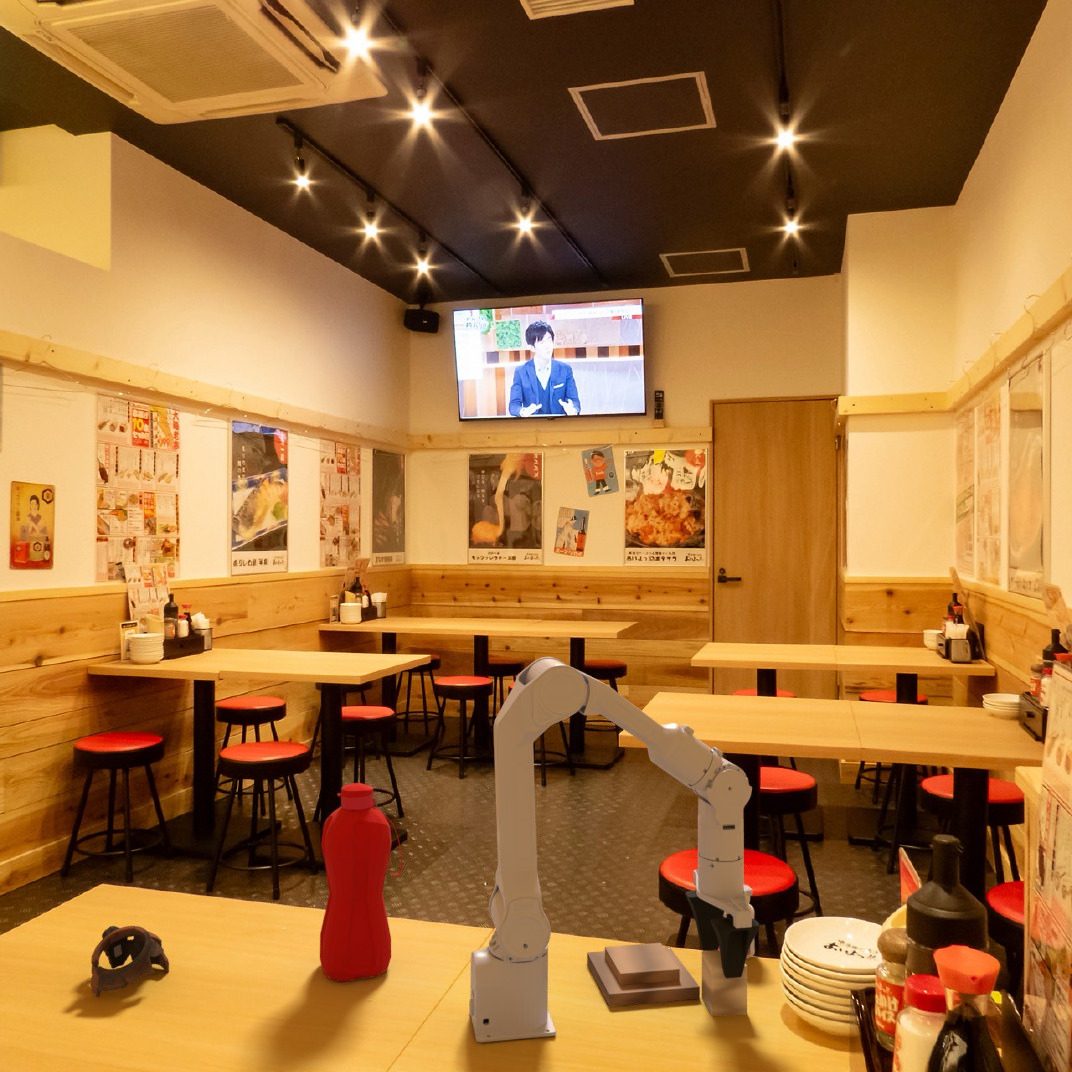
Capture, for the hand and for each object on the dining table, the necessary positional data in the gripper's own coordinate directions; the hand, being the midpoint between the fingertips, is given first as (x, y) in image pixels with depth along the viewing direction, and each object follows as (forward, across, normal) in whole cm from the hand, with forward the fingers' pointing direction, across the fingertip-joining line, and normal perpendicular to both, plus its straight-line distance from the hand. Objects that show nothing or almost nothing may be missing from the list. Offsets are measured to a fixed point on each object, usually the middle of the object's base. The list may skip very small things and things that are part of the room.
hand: (721, 962), depth 112 cm
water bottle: (+5, +18, +45) cm, 49 cm away
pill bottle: (+6, +14, -8) cm, 17 cm away
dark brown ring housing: (+5, +19, +76) cm, 78 cm away
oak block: (+5, 0, 0) cm, 5 cm away
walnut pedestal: (+5, +8, +8) cm, 13 cm away
